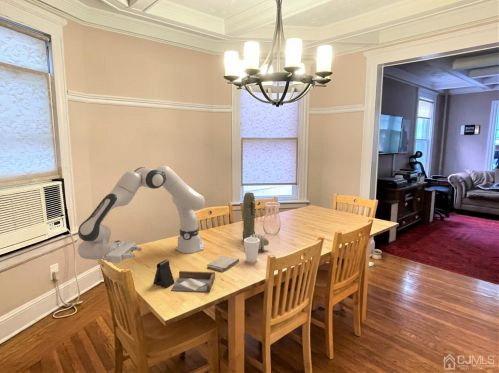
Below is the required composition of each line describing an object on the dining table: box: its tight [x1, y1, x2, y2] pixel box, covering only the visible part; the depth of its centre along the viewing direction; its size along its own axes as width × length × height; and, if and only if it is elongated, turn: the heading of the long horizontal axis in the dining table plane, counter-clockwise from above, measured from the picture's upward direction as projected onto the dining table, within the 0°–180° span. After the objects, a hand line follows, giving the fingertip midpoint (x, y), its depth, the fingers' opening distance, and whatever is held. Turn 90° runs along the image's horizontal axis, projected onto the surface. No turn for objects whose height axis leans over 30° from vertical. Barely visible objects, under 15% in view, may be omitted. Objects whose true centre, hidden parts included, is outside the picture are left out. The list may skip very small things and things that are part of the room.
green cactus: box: [242, 192, 256, 242], centre depth 224 cm, size 9×12×35 cm
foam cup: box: [243, 237, 260, 263], centre depth 192 cm, size 10×9×13 cm
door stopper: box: [152, 259, 176, 289], centre depth 161 cm, size 9×6×12 cm, turn 61°
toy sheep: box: [242, 233, 270, 252], centre depth 208 cm, size 11×17×11 cm, turn 95°
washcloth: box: [206, 255, 240, 273], centre depth 186 cm, size 12×18×3 cm, turn 152°
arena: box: [170, 270, 216, 294], centre depth 161 cm, size 15×19×4 cm
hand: (137, 252), depth 160 cm, fingers open, 8 cm apart
